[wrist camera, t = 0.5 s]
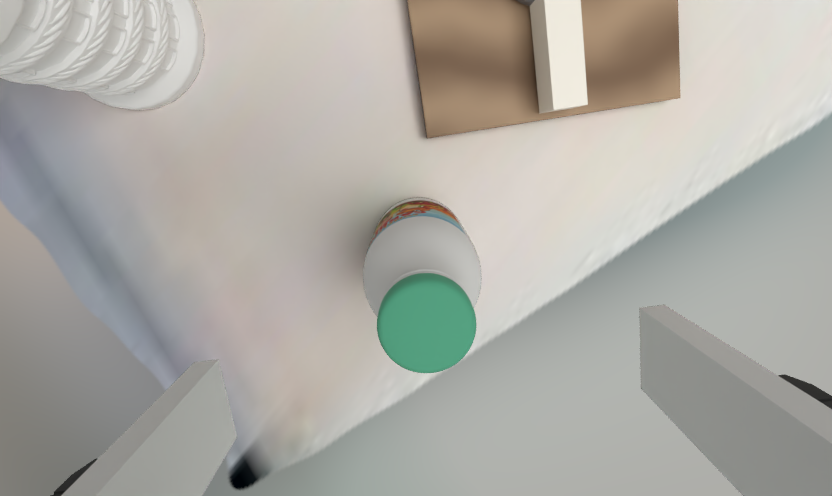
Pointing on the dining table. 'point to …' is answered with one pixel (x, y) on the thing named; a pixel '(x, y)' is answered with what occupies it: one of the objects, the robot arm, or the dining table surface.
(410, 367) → the milk bottle
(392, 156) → the dining table surface
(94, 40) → the decorative container
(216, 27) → the dining table surface
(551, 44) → the tuning dial
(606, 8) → the board
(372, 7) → the dining table surface
